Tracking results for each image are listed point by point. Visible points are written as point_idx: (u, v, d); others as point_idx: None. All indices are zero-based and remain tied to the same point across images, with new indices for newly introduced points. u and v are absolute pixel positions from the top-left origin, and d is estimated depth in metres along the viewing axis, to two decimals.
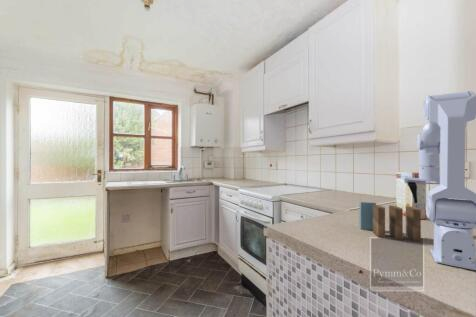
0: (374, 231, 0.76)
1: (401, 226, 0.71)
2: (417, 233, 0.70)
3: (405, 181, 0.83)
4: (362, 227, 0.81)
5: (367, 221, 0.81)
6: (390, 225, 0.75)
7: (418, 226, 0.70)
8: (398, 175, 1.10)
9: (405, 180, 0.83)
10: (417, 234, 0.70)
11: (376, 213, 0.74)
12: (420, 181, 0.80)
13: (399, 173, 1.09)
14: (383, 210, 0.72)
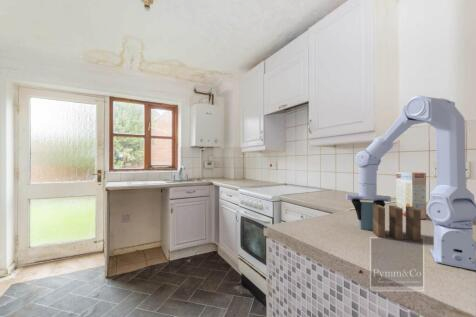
0: (374, 231, 0.76)
1: (401, 226, 0.71)
2: (417, 233, 0.70)
3: (348, 198, 0.82)
4: (362, 227, 0.81)
5: (367, 221, 0.81)
6: (390, 225, 0.75)
7: (418, 226, 0.70)
8: (398, 175, 1.10)
9: (348, 197, 0.82)
10: (417, 234, 0.70)
11: (376, 213, 0.74)
12: (361, 198, 0.81)
13: (399, 173, 1.09)
14: (383, 210, 0.72)
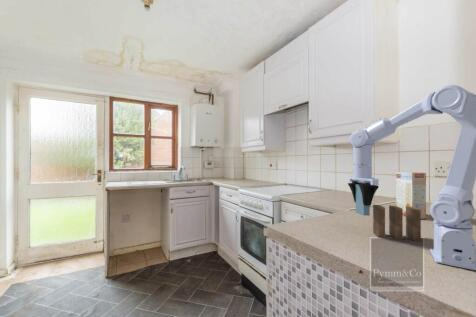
0: (374, 231, 0.76)
1: (401, 226, 0.71)
2: (417, 233, 0.70)
3: (349, 180, 0.83)
4: (356, 210, 0.78)
5: (359, 204, 0.77)
6: (390, 225, 0.75)
7: (418, 226, 0.70)
8: (398, 175, 1.10)
9: (349, 179, 0.83)
10: (417, 234, 0.70)
11: (376, 213, 0.74)
12: (354, 180, 0.79)
13: (399, 173, 1.09)
14: (383, 210, 0.72)
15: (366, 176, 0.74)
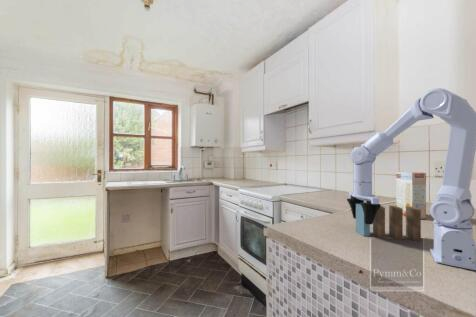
0: (374, 231, 0.76)
1: (401, 226, 0.71)
2: (417, 233, 0.70)
3: (349, 195, 0.83)
4: (356, 229, 0.78)
5: (359, 224, 0.76)
6: (390, 225, 0.75)
7: (418, 226, 0.70)
8: (398, 175, 1.10)
9: (349, 194, 0.83)
10: (417, 234, 0.70)
11: (376, 213, 0.74)
12: (354, 196, 0.79)
13: (399, 173, 1.09)
14: (383, 210, 0.72)
15: (366, 194, 0.73)
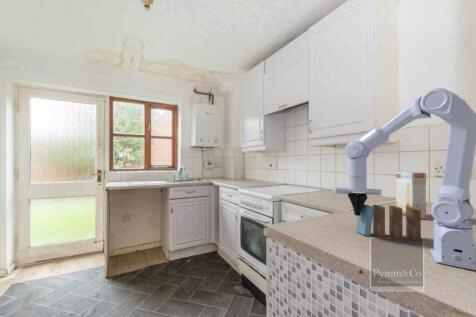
0: (374, 231, 0.76)
1: (401, 226, 0.71)
2: (417, 233, 0.70)
3: (336, 192, 0.77)
4: (356, 229, 0.78)
5: (360, 223, 0.76)
6: (390, 225, 0.75)
7: (418, 226, 0.70)
8: (398, 175, 1.10)
9: (336, 191, 0.77)
10: (417, 234, 0.70)
11: (376, 213, 0.74)
12: (350, 192, 0.76)
13: (399, 173, 1.09)
14: (383, 210, 0.72)
15: None
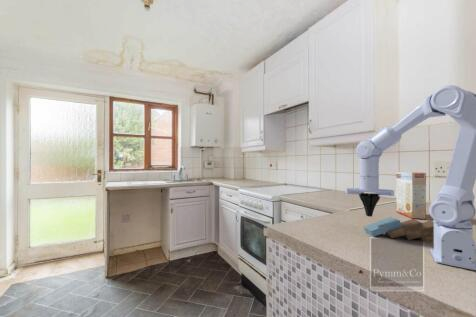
0: None
1: (422, 235, 0.69)
2: (431, 240, 0.69)
3: (347, 192, 0.76)
4: (366, 226, 0.77)
5: (375, 225, 0.75)
6: None
7: None
8: (398, 175, 1.10)
9: (347, 191, 0.76)
10: (430, 240, 0.69)
11: (411, 223, 0.71)
12: (361, 192, 0.75)
13: (399, 173, 1.09)
14: (420, 228, 0.69)
15: None
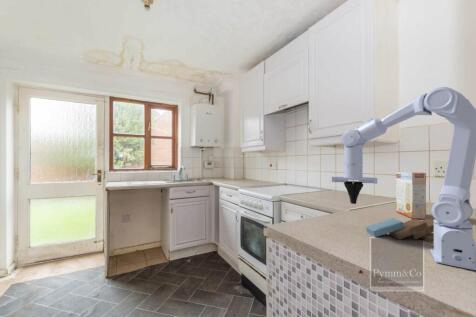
0: None
1: (426, 233, 0.70)
2: None
3: (332, 180, 0.78)
4: (368, 226, 0.77)
5: (377, 226, 0.75)
6: None
7: None
8: (398, 175, 1.10)
9: (332, 179, 0.78)
10: (433, 240, 0.69)
11: (415, 223, 0.71)
12: (346, 180, 0.76)
13: (399, 173, 1.09)
14: (425, 227, 0.70)
15: None
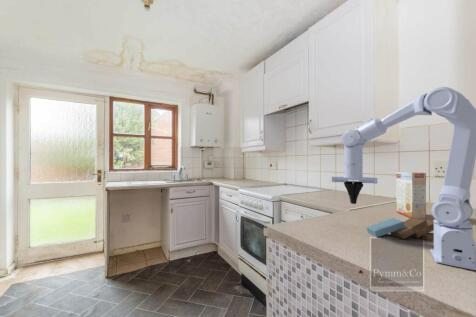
0: None
1: (427, 232, 0.72)
2: None
3: (332, 180, 0.78)
4: (369, 226, 0.77)
5: (378, 226, 0.75)
6: None
7: None
8: (398, 175, 1.10)
9: (332, 179, 0.78)
10: None
11: (416, 222, 0.73)
12: (346, 180, 0.76)
13: (399, 173, 1.09)
14: (425, 225, 0.71)
15: None
